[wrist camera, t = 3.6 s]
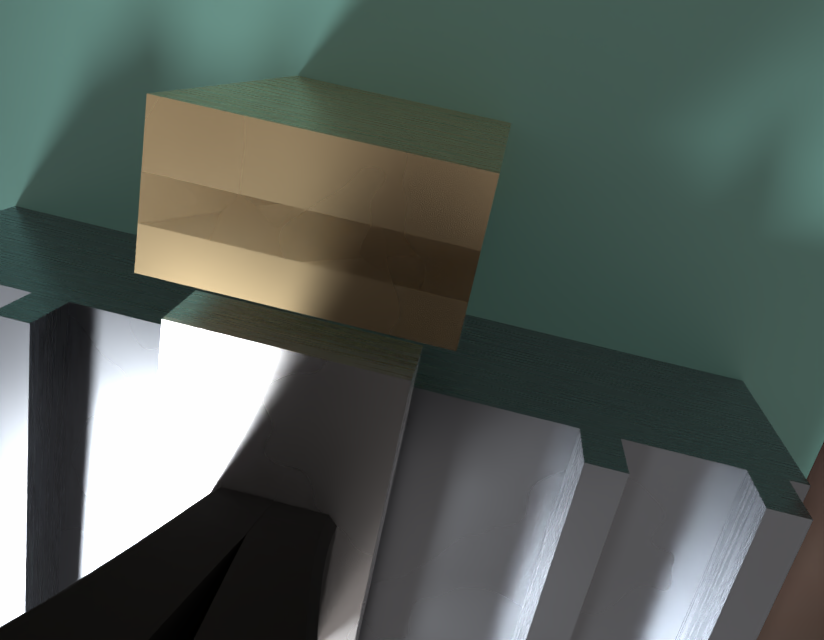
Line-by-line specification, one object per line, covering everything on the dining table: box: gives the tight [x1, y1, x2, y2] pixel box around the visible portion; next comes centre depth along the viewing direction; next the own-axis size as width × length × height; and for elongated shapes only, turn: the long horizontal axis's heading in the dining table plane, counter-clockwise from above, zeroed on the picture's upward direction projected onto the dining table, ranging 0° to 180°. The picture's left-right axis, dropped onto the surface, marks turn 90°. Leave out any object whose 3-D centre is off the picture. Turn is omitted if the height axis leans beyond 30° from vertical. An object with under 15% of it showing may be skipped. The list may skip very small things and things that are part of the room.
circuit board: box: [0, 0, 824, 479], centre depth 15 cm, size 15×24×1 cm, turn 169°
